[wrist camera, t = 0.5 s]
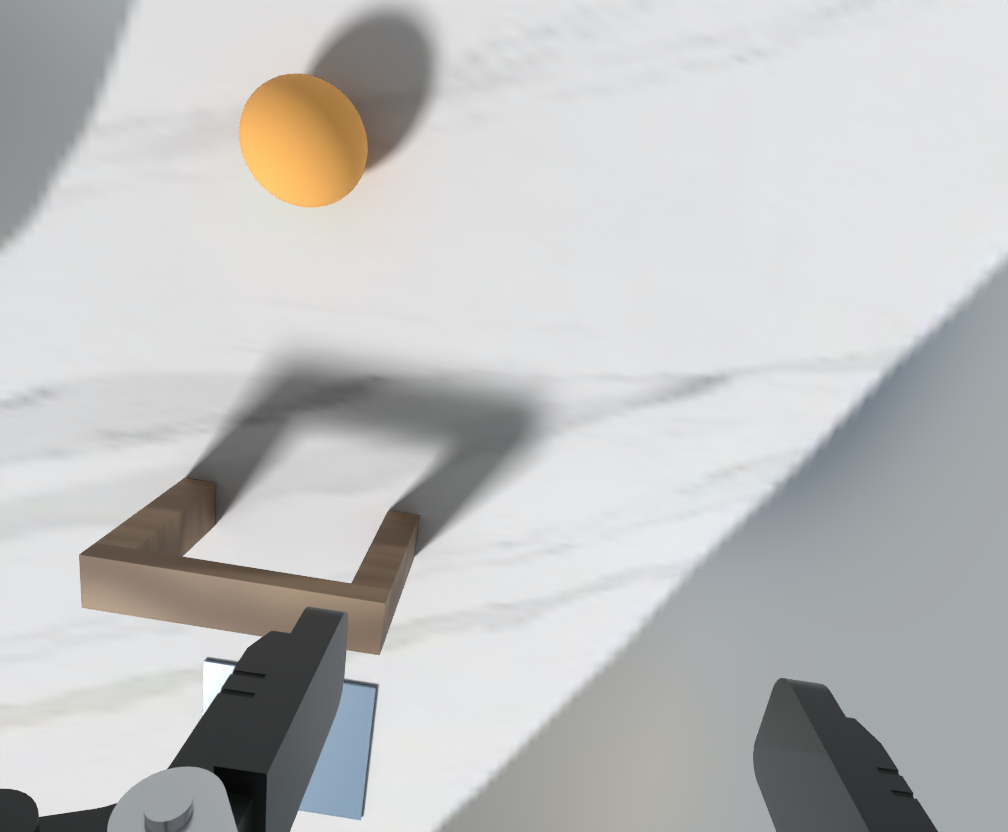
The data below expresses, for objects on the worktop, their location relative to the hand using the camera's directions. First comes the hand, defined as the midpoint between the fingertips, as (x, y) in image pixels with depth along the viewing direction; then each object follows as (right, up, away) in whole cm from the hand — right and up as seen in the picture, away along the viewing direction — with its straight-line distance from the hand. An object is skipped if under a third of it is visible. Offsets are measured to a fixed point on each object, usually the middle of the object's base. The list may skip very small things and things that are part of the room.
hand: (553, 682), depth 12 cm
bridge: (-14, -2, +29) cm, 32 cm away
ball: (-11, +18, +19) cm, 29 cm away
